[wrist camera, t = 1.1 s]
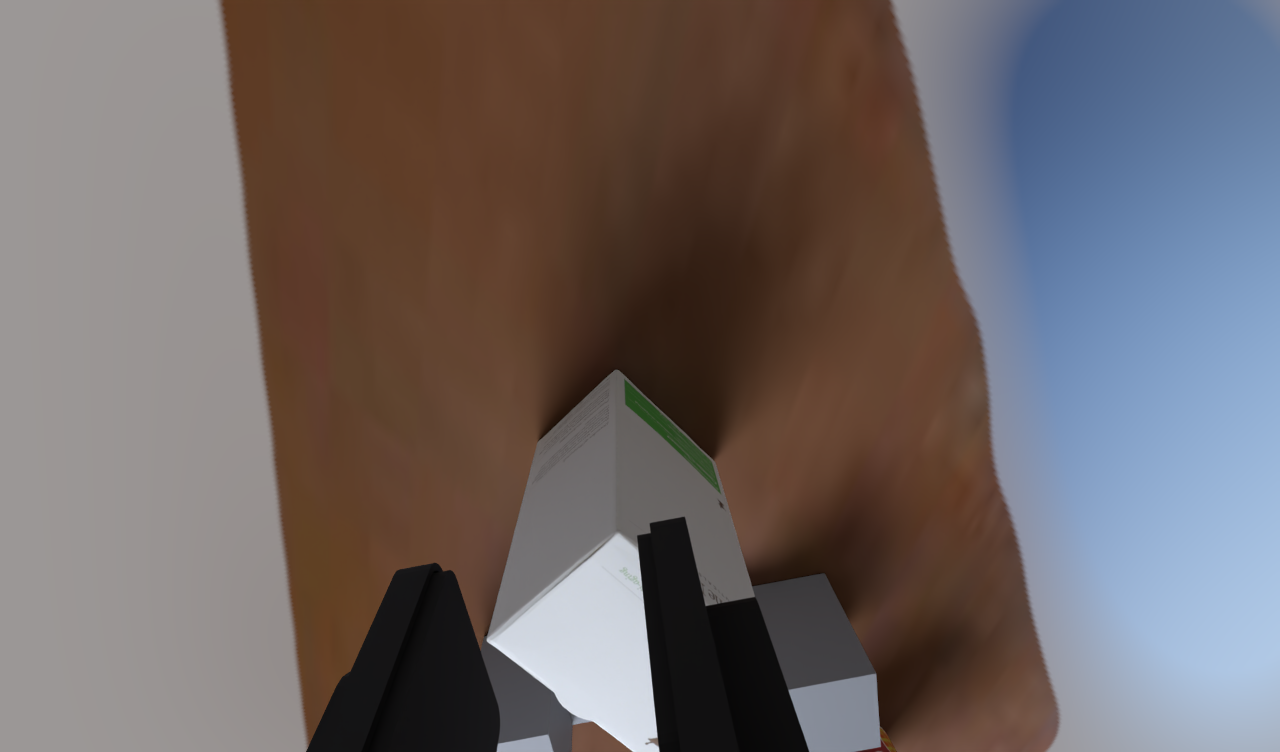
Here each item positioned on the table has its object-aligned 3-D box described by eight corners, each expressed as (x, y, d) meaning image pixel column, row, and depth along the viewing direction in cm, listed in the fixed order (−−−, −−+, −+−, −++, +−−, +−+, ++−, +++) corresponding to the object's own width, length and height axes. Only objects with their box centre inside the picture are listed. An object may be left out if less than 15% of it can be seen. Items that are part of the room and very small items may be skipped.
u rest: (484, 636, 41) (458, 751, 33) (824, 573, 41) (876, 673, 33) (504, 698, 42) (484, 820, 35) (830, 637, 42) (880, 747, 35)
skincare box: (716, 461, 38) (794, 673, 23) (632, 534, 39) (654, 778, 24) (612, 361, 35) (624, 526, 21) (525, 442, 36) (478, 652, 22)
